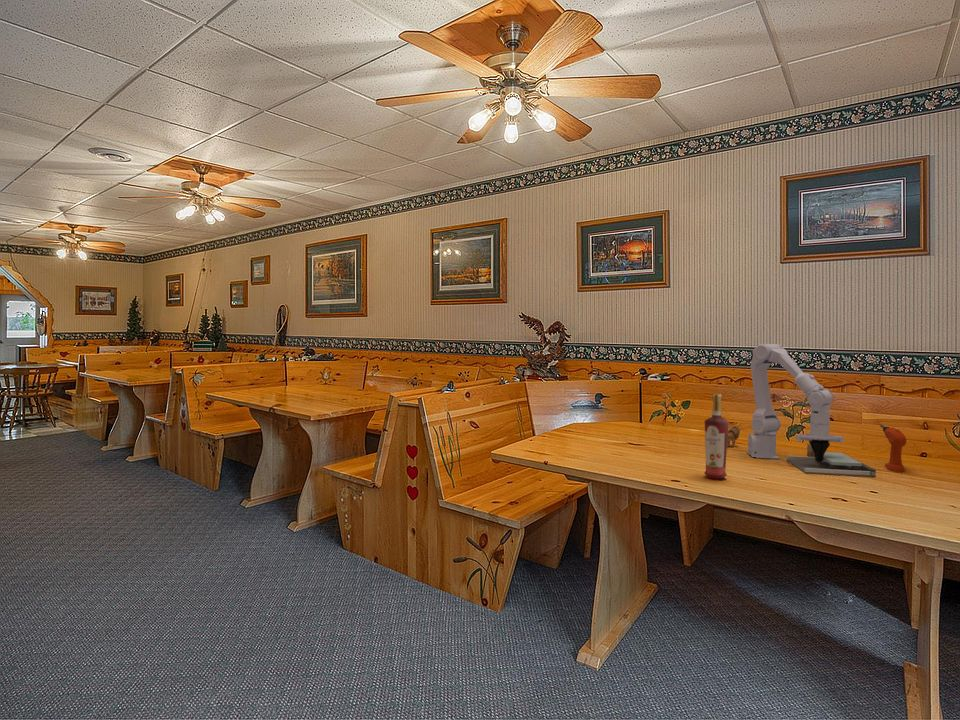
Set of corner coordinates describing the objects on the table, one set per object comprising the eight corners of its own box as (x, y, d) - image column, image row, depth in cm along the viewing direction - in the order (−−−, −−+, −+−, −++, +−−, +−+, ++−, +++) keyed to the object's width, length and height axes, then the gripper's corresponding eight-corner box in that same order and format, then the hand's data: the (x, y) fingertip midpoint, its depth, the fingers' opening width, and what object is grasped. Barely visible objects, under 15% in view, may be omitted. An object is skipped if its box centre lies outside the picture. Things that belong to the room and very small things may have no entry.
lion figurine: (732, 444, 227) (733, 424, 227) (742, 447, 222) (743, 426, 222) (706, 447, 222) (706, 426, 221) (716, 450, 217) (716, 428, 216)
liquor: (730, 477, 175) (732, 394, 173) (722, 482, 170) (724, 396, 168) (708, 473, 180) (710, 392, 179) (699, 477, 175) (701, 394, 173)
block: (810, 458, 201) (811, 445, 201) (807, 456, 205) (807, 443, 205) (822, 459, 200) (822, 446, 200) (818, 457, 204) (818, 444, 204)
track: (805, 473, 180) (805, 466, 180) (786, 460, 198) (786, 454, 198) (875, 477, 175) (875, 469, 175) (849, 463, 193) (850, 456, 193)
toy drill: (886, 456, 198) (889, 418, 195) (907, 475, 181) (911, 433, 178) (870, 455, 200) (874, 417, 197) (890, 474, 182) (894, 432, 180)
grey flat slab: (831, 471, 179) (831, 461, 179) (813, 460, 195) (813, 451, 194) (861, 472, 177) (861, 463, 177) (841, 461, 193) (841, 452, 192)
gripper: (801, 424, 184) (800, 462, 185) (847, 426, 181) (846, 465, 181) (794, 421, 191) (793, 458, 192) (839, 422, 188) (838, 460, 188)
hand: (818, 461), depth 187 cm, fingers closed
